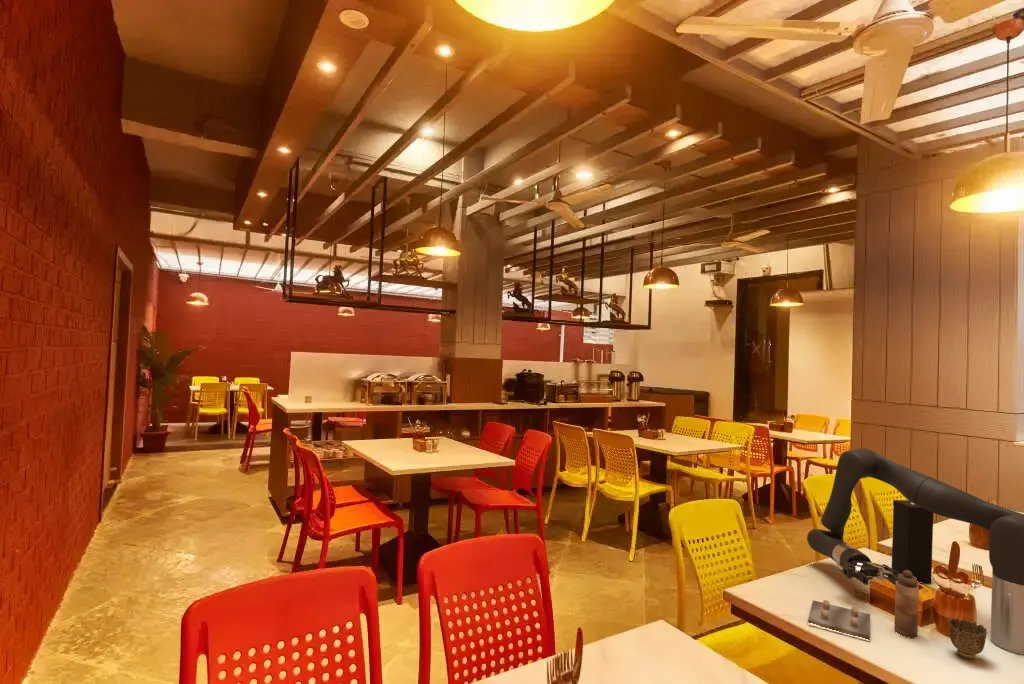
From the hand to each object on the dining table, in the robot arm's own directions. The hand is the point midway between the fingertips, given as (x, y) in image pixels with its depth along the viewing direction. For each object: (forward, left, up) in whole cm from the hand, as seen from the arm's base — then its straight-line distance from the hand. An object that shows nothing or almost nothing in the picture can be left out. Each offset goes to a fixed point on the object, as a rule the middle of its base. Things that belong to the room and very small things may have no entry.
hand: (882, 582), depth 158 cm
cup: (-17, +14, -9) cm, 24 cm away
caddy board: (+10, +13, -9) cm, 19 cm away
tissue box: (-8, -35, -9) cm, 37 cm away
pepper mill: (-5, +9, -9) cm, 14 cm away
